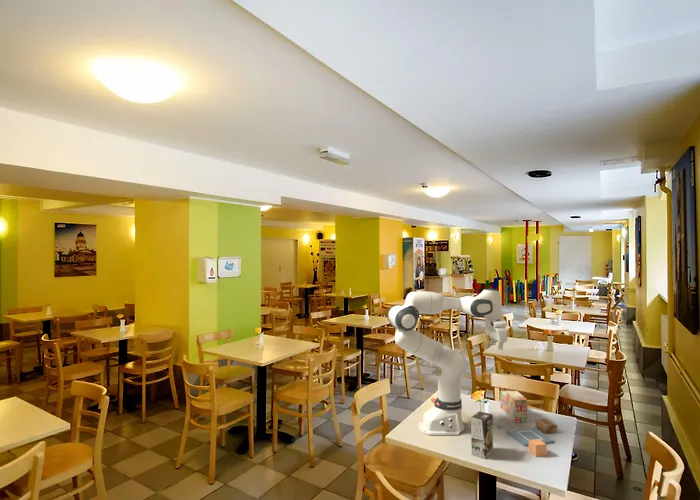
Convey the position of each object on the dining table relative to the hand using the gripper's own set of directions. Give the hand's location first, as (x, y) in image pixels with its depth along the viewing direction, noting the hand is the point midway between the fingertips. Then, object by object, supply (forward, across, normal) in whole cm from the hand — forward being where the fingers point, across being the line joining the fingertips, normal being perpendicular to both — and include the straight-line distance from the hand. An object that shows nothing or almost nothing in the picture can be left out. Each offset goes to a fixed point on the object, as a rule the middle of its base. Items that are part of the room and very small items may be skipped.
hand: (497, 347), depth 204 cm
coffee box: (+36, +31, -23) cm, 52 cm away
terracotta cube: (+38, +32, +1) cm, 50 cm away
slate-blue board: (+39, +18, +4) cm, 43 cm away
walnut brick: (+41, +10, +16) cm, 45 cm away
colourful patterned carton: (+41, -10, +8) cm, 42 cm away
